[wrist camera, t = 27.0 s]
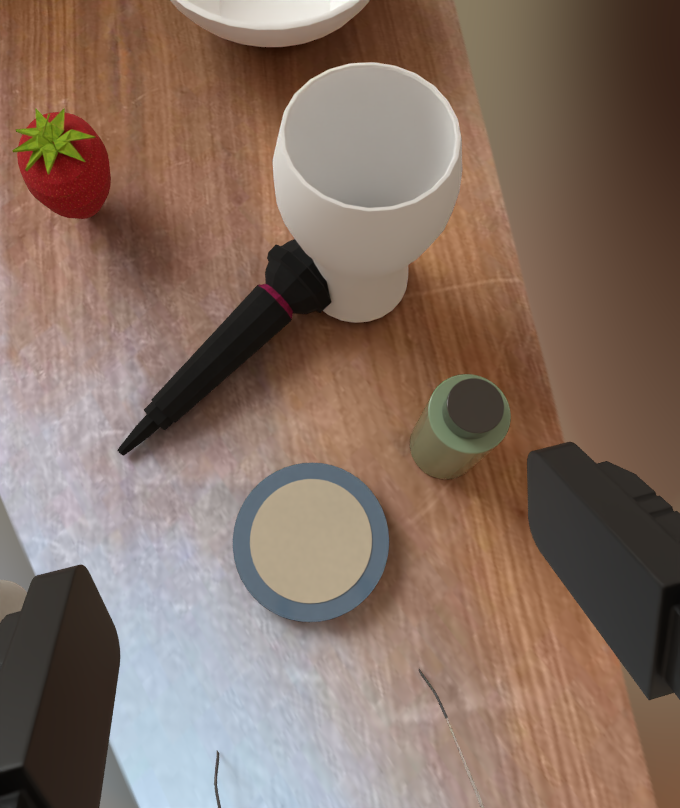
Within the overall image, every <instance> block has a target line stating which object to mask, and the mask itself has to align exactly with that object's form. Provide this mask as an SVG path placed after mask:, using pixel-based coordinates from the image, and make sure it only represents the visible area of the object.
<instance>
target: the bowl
mask: <svg viewBox="0 0 680 808" xmlns="http://www.w3.org/2000/svg"><path fill="white" fill-rule="evenodd" d="M170 1H171V2H172V3H173V4H174V6H175V7H176V8H177V9H178V10H179V11H180V12H182V13H183V14H184V15H185V16H187V17H188V18H189V19H190V20H192V21H193V22H194V23H196V24H197V25H199V26H200V27H202V28H203V29H205V30H207V31H209V32H211V33H213V34H215V35H217V36H219V37H220V38H223V39H226V40H230V41H233V42H236V43H239V44H244V45H251V46H258V47H286V46H292V45H298V44H304V43H307V42H310V41H313V40H316V39H319V38H322V37H324V36H326V35H328V34H330V33H332V32H334V31H335V30H337V29H339V28H341V27H342V26H343V25H344V24H346V23H347V22H348V21H349V20H351V19H352V18H353V17H354V16H355V15H357V14H358V13H359V12H360V11H361V10H362V9H363V8H364V7H365V6H366V5H367V3H368V2H369V1H370V0H170Z"/></svg>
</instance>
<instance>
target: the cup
mask: <svg viewBox="0 0 680 808" xmlns="http://www.w3.org/2000/svg"><path fill="white" fill-rule="evenodd" d="M273 174H274V185H275V193H276V201H277V206H278V208H279V211H280V213H281V216H282V218H283V221H284V223H285V225H286V226H287V228H288V229H289V231H290V232H291V234H292V235H293V237H294V238H295V240H296V241H297V243H298V244H299V245H300V246H301V248H302V249H303V250H304V252H305V253H306V254H307V255H308V256H309V257H311V258H312V259H313V261H314V264H315V265H316V267H317V268H318V270H319V272H320V273H321V275H322V276H323V278H324V279H325V280H326V281H327V285H328V290H329V295H330V299H331V303H330V304H329V305H328V306H327V307H326V308H325V309H324V310H323V311H324V312H325V313H327V314H328V315H330V316H332V317H334V318H337V319H339V320H342V321H348V322H354V323H357V322H369V321H372V320H375V319H378V318H381V317H383V316H384V315H386V314H387V313H389V312H390V311H392V310H393V309H394V308H395V307H396V306H397V305H398V303H399V302H400V301H401V299H402V297H403V295H404V293H405V291H406V288H407V281H408V265H409V264H410V263H412V262H413V261H415V260H416V259H417V258H418V257H419V256H420V255H421V254H422V253H423V252H424V251H425V250H426V249H427V248H428V247H429V246H430V245H431V244H432V243H433V242H434V241H435V240H436V239H437V238H438V236H439V235H440V234H441V233H442V232H443V231H444V229H445V226H446V224H447V222H448V220H449V218H450V216H451V214H452V211H453V208H454V206H455V203H456V200H457V197H458V194H459V191H460V183H461V176H462V139H461V133H460V128H459V122H458V119H457V117H456V115H455V113H454V111H453V109H452V107H451V105H450V103H449V101H448V100H447V99H446V98H445V97H444V96H443V95H442V94H441V93H440V91H439V90H438V89H437V88H436V87H435V86H434V85H432V84H431V83H429V82H428V81H426V80H425V79H423V78H422V77H420V76H419V75H417V74H416V73H413V72H410V71H408V70H405V69H403V68H400V67H397V66H394V65H387V64H381V63H375V62H368V63H350V64H346V65H343V66H339V67H335V68H332V69H329V70H327V71H325V72H323V73H321V74H319V75H317V76H316V77H314V78H312V79H310V80H309V81H308V82H307V83H306V84H305V85H304V86H303V87H302V88H300V89H299V90H298V91H297V92H296V93H295V94H294V96H293V98H292V99H291V101H290V102H289V104H288V106H287V107H286V109H285V111H284V114H283V118H282V122H281V126H280V130H279V135H278V139H277V144H276V148H275V152H274V157H273Z"/></svg>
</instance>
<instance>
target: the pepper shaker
mask: <svg viewBox="0 0 680 808" xmlns="http://www.w3.org/2000/svg"><path fill="white" fill-rule="evenodd" d="M510 421H511V414H510V408H509V404H508V401H507V399H506V397H505V396H504V394H503V393H502V391H501V390H500V389H499V388H498V387H497V386H496V385H495V384H494V383H492V382H491V381H489V380H487V379H485V378H483V377H480V376H477V375H471V374H462V375H456V376H453V377H450V378H448V379H446V380H445V381H443V382H442V383H441V384H439V385H438V386H437V388H436V389H435V390H434V392H433V393H432V395H431V397H430V399H429V401H428V403H427V405H426V407H425V408H424V410H423V412H422V414H421V416H420V418H419V420H418V422H417V423H416V425H415V427H414V429H413V431H412V434H411V438H410V450H411V454H412V457H413V459H414V461H415V462H416V464H417V465H418V466H419V468H420V469H421V470H423V471H424V472H425V473H427V474H428V475H430V476H432V477H435V478H439V479H453V478H457V477H459V476H462V475H463V474H465V473H466V472H468V471H469V470H470V469H471V468H472V467H473V466H474V465H476V464H477V463H478V462H479V461H480V460H481V459H482V458H483V457H485V456H486V455H487V454H488V453H489V452H490V451H491V450H493V449H494V448H495V447H496V446H497V445H498V444H499V443H500V442H501V441H502V440H503V439H504V437H505V436H506V434H507V432H508V429H509V426H510Z"/></svg>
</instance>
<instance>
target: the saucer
mask: <svg viewBox="0 0 680 808" xmlns="http://www.w3.org/2000/svg"><path fill="white" fill-rule="evenodd" d="M388 551H389V533H388V526H387V522H386V518H385V515H384V512H383V510H382V508H381V506H380V504H379V502H378V500H377V499H376V497H375V496H374V494H373V493H372V492H371V490H370V489H369V488H368V487H367V486H366V485H365V484H364V483H363V482H362V481H361V480H359V479H358V478H357V477H355V476H354V475H352V474H351V473H349V472H347V471H345V470H343V469H341V468H338V467H335V466H332V465H327V464H322V463H302V464H296V465H292V466H289V467H285V468H283V469H281V470H278V471H276V472H274V473H273V474H271V475H270V476H268V477H266V478H265V479H264V480H263V481H261V482H260V483H259V484H258V485H257V486H256V487H255V488H254V489H253V490H252V491H251V493H250V494H249V495H248V497H247V498H246V500H245V501H244V503H243V505H242V507H241V509H240V511H239V514H238V516H237V519H236V523H235V527H234V533H233V553H234V560H235V564H236V567H237V571H238V573H239V575H240V578H241V580H242V582H243V583H244V585H245V587H246V588H247V590H248V591H249V592H250V593H251V595H252V596H253V597H254V598H255V599H256V600H257V601H258V602H259V603H260V604H261V605H263V606H264V607H265V608H267V609H268V610H270V611H271V612H273V613H275V614H277V615H279V616H282V617H284V618H287V619H291V620H295V621H301V622H320V621H325V620H330V619H333V618H336V617H339V616H341V615H343V614H345V613H347V612H349V611H351V610H352V609H354V608H355V607H356V606H358V605H359V604H360V603H361V602H362V601H364V600H365V599H366V598H367V597H368V595H369V594H370V593H371V592H372V591H373V589H374V588H375V586H376V585H377V583H378V582H379V580H380V578H381V575H382V573H383V571H384V568H385V565H386V562H387V557H388Z"/></svg>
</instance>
